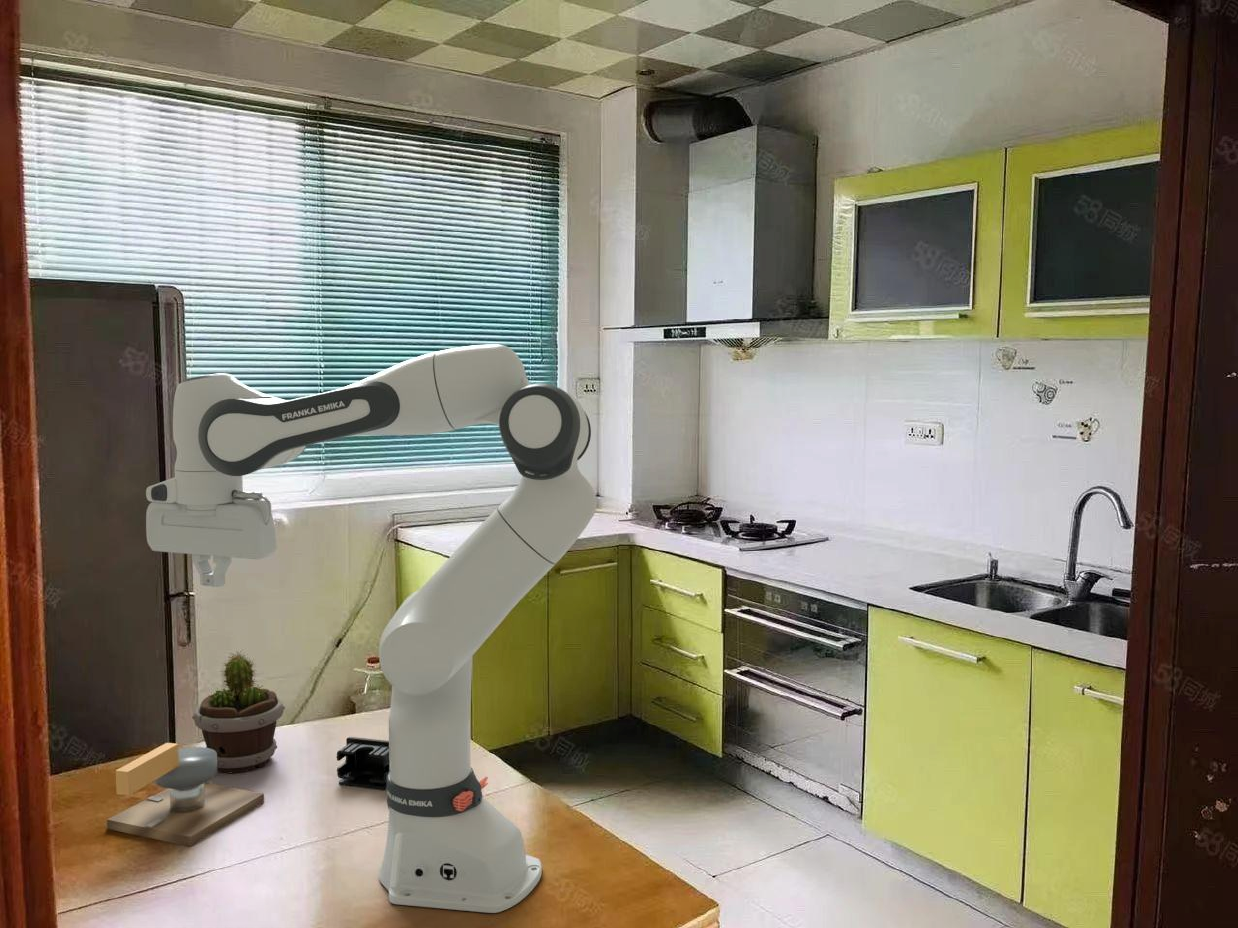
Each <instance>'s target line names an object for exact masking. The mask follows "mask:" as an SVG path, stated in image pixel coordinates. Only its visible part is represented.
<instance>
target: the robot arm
mask: <svg viewBox="0 0 1238 928" xmlns="http://www.w3.org/2000/svg"><path fill="white" fill-rule="evenodd" d="M525 369H526V368H525V365H524V363H523V362H522V360H521V358H520V357H519V356H518V354H517V353H516V352H515V351H514V350H513V349H512V348H510V347H509V346H507V345H504V344H501V343H500V344H499V343H498V344H497V343H496V344H495V343H493V344H475V345H474V344H473V345H466V346H459V347H453V348H448V349H442V350H437V351H433V352H429V353H426V354H422V355H419V356H417V357H413V358H411V359H408V360H404V361H402V362H400V363H398V364H395V365H393V366H391V367H389V368H386V369H384V370H382V371H379V372H377V373H375V374H373V375H370V376H368V377H365V378H364V379H361V380H360V381H359V380H358V381H356V382H354V383H352V384H349V385H346V386H343V387H341V388H337V389H333V390H330V391H325V392H319V393H316V394H312V395H306V396H303V397H297V398H293V399H289V400H286V399H283V398H280V397H276V396H273V395H269V394H267V393H264V392H261V391H259V390H256V389H254V388H252V387H249V386H248V385H246V384H244V383H242V382H241V381H240V380H238V379H237V377H236V376H234V375H233V374H230V373H226V372H224V373H221V372H219V373H216V372H215V373H213V374H212V373H211V374H203V375H196V376H192V377H189V378H186V379H184V380H182V381H181V382H179V384H178V385H177V387H176V390H175V393H174V397H173V398H174V399H173V407H172V437H173V438H172V439H173V442H174V446H175V448H176V460H175V464H174V477H172V478H169V479H167V480H163V481H161V482H158V483H156V484H152V485H150V486H147V488H146V490H145V495H146V499H147V501H149V502H151V503H149V504H148V506H147V508H146V512H145V513H146V515H145V521H146V522H145V525H146V526H145V529H146V531H145V533H146V541H147V544H148V546H149V547H150V550H152V551H153V552H162V553H176V554H187V555H188V554H189V555H192V556H191V557H192V563H193V565H194V567H195V569H196V571H197V572H198V574H199V584H200V585H201V586H202V587H214V588H220V587H223V586H225V584H226V573H227V571H228V569H229V567H230V564H231V563H232V558H234V559H235V558H236V559H248V560H262V559H266V558H270V557H272V556H273V555H274V554H275V552H276V550H277V535H276V528H275V523H274V517H273V514H272V503H271V501H270V500H269V499H268V498H267V497H266V496H265V495H263V493H262V492H260V491H252V492H250V491H245V490H244V487H243V486H244V484H243V476H246V475H250V474H252V473H255V472H258V471H261V470H265V469H268V468H273V467H277V466H280V465H284V464H287V463H290V462H291V461H293V460H295V459H297V458H298V457H300V456H301V455H302V453H303V452H304V451H305V450H306V448H307V446H311V445H314V444H320V443H324V442H328V441H333V440H337V439H343V438H347V437H355V436H422V435H433V434H439V433H440V434H441V433H447V432H451V431H456V430H460V429H465V428H468V427H473V426H477V425H485V424H488V425H489V424H491V425H495V426H498V429H499V434H500V437H501V441H502V443H503V445H504V447H505V449H506V451H507V453H508V454H509V456H510V457H511V459H512V461H513V464H514V465H515V467H516V469H517V471H518V473H519V474H520V476H521V480H520V481H519V483H518V485H517V486H516V488H515V489H514V490H513V491H512V492H511V493H510V494H509V495H508V496H507V497H506V499H504V501H502V503H500V504H499V505H498V507H496V508H495V510H494V511H492V513H491V514H490V515H488V517H487V518H486V519H485V520H484V521H483V522H482V523H481V524H480V525H479V526H478V527H477V528H476V529H475V530H474V531H473V532H472V533H471V534H470V536H468V537H467V539H465V540H464V542H462V544H460V546H459V547H458V548H457V549H455V551H454V552H453V553H452V555H450V556H449V558H447V560H446V561H445V562H444V563H443V564H442V565H441V566H440V567H439V568H438V570H437V571H435V573H434V574H433V575H432V576H431V577H430V578H429V579H428V580H427V582H426V583H424V585H423V586H422V587H421V588H420V589H417V590H415V591H414V592H412V593H411V594H410V595H408V596H407V597H406V599H404V601H403V602H402V604H401V605H400V606H399V607H398V609H397V610H396V612H395V613H394V615H393V616H392V617H391V618H390V620H389V622H388V623H387V624H386V625H385V627H384V629H383V631H382V633H381V637H380V639H379V646H378V647H379V648H378V649H379V651H378V653H379V654H378V656H379V658H378V659H379V665H380V668H381V672H382V674H383V676H384V678H385V680H386V681H387V682H388V683H389V684H390V685H391V698H390V708H389V715H388V741H389V769H390V772H389V773H388V775H387V787H386V790H385V791H386V803H387V808H388V823H387V835H386V843H385V847H384V848H385V849H384V854H383V859H382V862H381V866H380V869H379V873H378V878H379V881H380V883H381V884H382V885H383V886H384V888H385V889H386V890H387V891H388V900H389V903H391V904H394V905H398V906H399V905H402V906H403V905H404V906H411V907H412V906H413V907H422V908H433V909H434V908H435V909H446V910H456V911H468V912H477V913H488V914H489V913H491V914H497V913H501V912H502V911H505V910H508V909H510V908H512V907H513V906H515V905H517V904H518V903H520V902H521V901H523V899H525V898H526V897H527V896H528V895H529V894H530V893H531V892H532V891H533V890H534V888H535V887H536V886H537V885H538V883H539V881H540V880H541V877H542V874H543V868H542V862H541V860H540V859H539V858H538V857H534V856H531V855H529V854H527V853H526V848H525V842H524V837H523V835H522V832H521V829H520V828H519V827H518V826H517V825H516V824H515V823H514V822H513V821H511V820H510V819H509V818H508V817H507V816H506V815H504V814H503V813H502V812H500V811H499V809H497V808H496V807H495V806H494V805H492V803H490V802H489V801H488V800H487V799H486V798H485V797H484V794H483V792H482V790H483V789H484V788H485V787H486V786H487V785H488V783H489V782H487V781H488V779H489V777H488V776H485V777H484V778H482V779H481V780H480V781H479V780H478V779H477V775H476V774H475V771H474V769H473V768H472V766H471V705H472V704H471V702H472V681H473V680H472V679H473V677H472V676H473V674H472V673H473V655H475V654H476V652H477V651H478V650H479V649H480V647H482V645H483V644H484V643H485V642H486V640H488V638H489V637H490V636H491V635H492V634H493V632H494V631H495V630H496V629H497V628H498V627H499V625H500V624H501V623H502V622H503V621H504V619H506V617H507V616H508V615H509V613H510V612H511V611H512V610H513V609H514V607H516V605H518V603H520V601H521V600H522V599H523V598H524V597H525V596H526V595H527V594H528V593H529V592H530V591H531V590H532V589H533V588H534V587H535V586H536V585H537V584H538V583H539V582H540V580H541V579H543V577H544V576H546V574H547V573H548V572H549V571H550V570H551V569H552V568H553V567H554V566H555V565H556V564H557V563H558V562H559V561H560V560H561V559H562V558H563V557H564V556H565V554H566V553H567V552H568V551H569V550H570V548H571V547H572V546H574V543H576V542H577V541H578V539H579V537H580V536H581V535H582V533H583V532H584V531H585V529H587V526H588V525H589V523H590V522H591V520H592V518H593V517H594V516H595V513H596V511H597V505H598V503H597V502H598V501H597V496H596V493H595V491H594V488H593V487H592V485H591V483H590V482H589V480H588V479H587V478H586V477H585V476H584V474H582V472H581V471H580V469H579V466H578V461H579V460H580V459H581V458H582V457H583V456H584V455H585V453H586V452H587V449H588V448H589V445H590V442H591V435H592V427H591V423H590V419H589V417H588V415H587V412H586V411H585V409H584V408H583V406H582V404H581V403H580V402H579V401H578V400H577V399H576V397H574V396H573V395H572V394H571V393H569V392H567V391H566V390H564V389H562V388H560V387H559V386H557V385H556V386H555V385H553V384H548V383H545V382H544V383H541V382H540V383H539V382H538V383H530V381H529V380H528V377H527V372H526V370H525ZM211 558H212V563H213V564H216V565H215V567H214V569H212V568H211V565H210V563H209V560H211Z"/></svg>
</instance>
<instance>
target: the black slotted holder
mask: <svg viewBox="0 0 1238 928" xmlns="http://www.w3.org/2000/svg"><path fill="white" fill-rule="evenodd" d="M345 742H346V743H345V744H346V745H345V746H343V747H342V748H341V749H339V750H338V751H337V753H336V761H338V762H340V761H341V760H342V759H343V758H345V761H344V762H343V763H341V765H339V766H338V767H337V769H336V773H337V774H336V776H337V777H338V779H339V780H338V785H339V786H341V787H342V786H343V787H353V788H361V789H369V790H375V791H386V787H387V775H388V773H389V772H390V769H389V740H382V739H377V738H375V739H374V738H366V737H356V736H355V737H354V736H349V737H347V738H346V740H345Z"/></svg>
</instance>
